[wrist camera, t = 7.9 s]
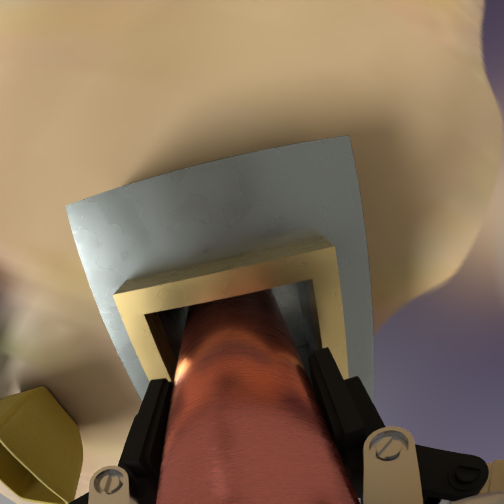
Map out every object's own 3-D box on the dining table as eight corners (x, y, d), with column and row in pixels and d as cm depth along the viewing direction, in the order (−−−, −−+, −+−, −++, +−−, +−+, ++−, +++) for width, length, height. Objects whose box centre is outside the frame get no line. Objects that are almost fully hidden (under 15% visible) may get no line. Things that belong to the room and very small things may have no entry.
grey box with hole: (115, 193, 17) (46, 211, 10) (313, 144, 17) (363, 131, 10) (189, 403, 21) (176, 481, 14) (346, 372, 21) (380, 444, 14)
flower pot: (-1, 379, 21) (-46, 433, 12) (43, 362, 20) (-10, 430, 12) (51, 442, 23) (21, 500, 14) (104, 434, 23) (75, 508, 14)
